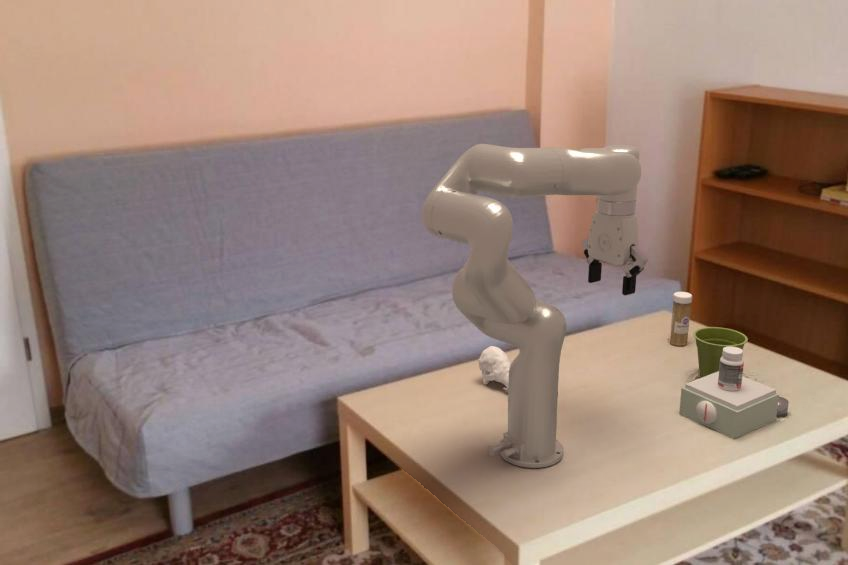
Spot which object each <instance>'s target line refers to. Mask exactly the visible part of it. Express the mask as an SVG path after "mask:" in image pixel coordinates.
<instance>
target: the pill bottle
mask: <svg viewBox="0 0 848 565" xmlns="http://www.w3.org/2000/svg"><path fill="white" fill-rule="evenodd" d="M722 355H723V356H722V357H721V358H720V366H719V376H718V386H719V387H720V388H721V389H724V390H728V391H737V390H739V389H740V388H741V384H742V376H743V374H744V367H745V366H744V365H745V361H744V358H743V357H744V349H743V350H742V349H740V348H737V347H731V346H728V347H724V348H723V352H722Z"/></svg>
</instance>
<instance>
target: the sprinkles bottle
mask: <svg viewBox="0 0 848 565" xmlns="http://www.w3.org/2000/svg"><path fill="white" fill-rule="evenodd" d="M672 300H673V301H672V302H673V303H672V304H673V305H672V312H671V325H670V339H669V343H670V344H671V345H673V346H677V347H684V346H686V345H688V343H689V342H688V340H689V339H688V336H689V332H690V331H689V330H690V316H691V304H692V302H693V295H692V294H691V293H690V292H687V291H675V292H674V293H673V295H672Z"/></svg>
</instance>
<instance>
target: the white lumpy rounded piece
mask: <svg viewBox="0 0 848 565" xmlns="http://www.w3.org/2000/svg"><path fill="white" fill-rule="evenodd" d="M477 362H478V367H479V370H480V371H481V375H482V380H483V381H482V382H483V385H485V386H486V385H488V384H489V383H490V382H493V381H495V382H496V383H501V384H502V385H505V387H503V390H505V391H506V393H508V388H509V368H510V365H511V363H512V362H511V361H510V359H509V357H508V356H507V354H506V352H505V351H503V350H502V348H500V347H498V346H494V345H490V346H488V347H487V348H485V349H483V351H482V352H481V354H480V357H479V358H478V361H477Z"/></svg>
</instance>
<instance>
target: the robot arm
mask: <svg viewBox="0 0 848 565" xmlns="http://www.w3.org/2000/svg"><path fill="white" fill-rule="evenodd" d="M641 177H642V166H641V163H640V151H639V150H638V148H637V147H636V146H633V145H628V144H609V145H606V146H604V147H598V148H597V147H583V148H579V149H577V150H576V149H571V148H562V147H553V146H551V147H508V146H501V145H495V144H487V143H477V144H475V145H473V146H471V147H470V148H469V149H467V150H465V152H464V153H462V154H461V155H460V157H459V158H458V159H457V160H456V161H455V162H454V163H453V164H452V165H451V167H450V168H449V169H448V170H447V172H446V173H445V174H444V175H443V177H442V178H441V179H440V180H439V182H437V184H436V185H435V186H434V188H432V189H431V191H430V193H429V194H428V196H427V198H426V200H425V201H424V204H423V206H422V212H421V219H422V223H423V226H424V228H425V229H426V231H427V232H428V233H430V234H432V235H433V236H434V237H438V238H441V239H444V240H449V241H453V242H456V243H460V244H462V245H463V244H464V245H468V246H470V252H469V255H468V257H467V260H465V263H464V266H463V267H461V268H460V269H459V271H458V272H457V273H456V274H455V276H454V278H453V281H452V285H451V295H452V299H453V304H454V305H455V307H456V309H457V310H459V312H460V313H461V314H462V315H463V316H464V317H465V318H466V319H467V320H468V321H469V322H470V323H472V324H473V326H475V327H476V328H477V329H478V330H479V331H480V332H481V333H482V334H484V335H485V336H487V337H489V338H491V339H494V340H497V341H499V342H502V343H506V344H509V345H510V346H513V347H515V348H518V350H519V352H518V354H517V355H516V357H515V358H514V359H513V360H512V362H510V363H511V365H510V368H509V388H508V392H507V396H508V397H507V400H508V401H507V431H506V432H504V433H503V434H502V436H503V437H502V438H503V439H500V441H499V442H496V443H494V444H492V445H488V447H487V451H488V453H489V455H490V456H496V455H498V454H500V456H501V458H503V460H505V461H506V462H508V463H510V464H512V465H514V466H517V467H520V468H521V467H522V468H527V469H528V468H530V469H540V468H546V467H547V468H548V467H550V466H554V465H556V464H557V463H559V462H560V461H561V460H562V459H563V457H564V447H563V444H562V443H561V442H560V441H559V440H558V439H557V422H558V421H557V420H558V398H559V395H558V394H559V372H560V363H561V362H560V360H561V354H562V348H563V345H564V340H565V336H566V333H567V320H566V317H565V315H564V313H563V312H562V311H561V310H560V309H559V308H558V307H556V306H554V305H553V304H550V303H548V302H546V301H542V300H539V299H536V296H535V292H534V290H533V289H532V286H531V284H529V282H528V281H527V280H526V279H525V277H523V276H522V274H520V271H518V270H517V269H516V267H515V266H513V264H512V263H511V262H510V260H509V258H508V257H509V251H510V250H509V249H510V244H511V240H512V235H513V231H514V222H513V218H512V214H511V212H510V210H509V208H508V207H507V206H506V205H505V204H504V203H502V202H501V201H499V200H498V199H495V198H491V197H488V196H485V195H479V194H478V193H479V192H481V193H486V194H490V195H495V196H501V197H507V198H525V197H526V198H527V197H530V198H531V197H538V196H539V197H541V196H553V195H554V196H555V195H556V196H557V195H558V196H597V197H596V198H595V203H596V204H597V209H596V210H595V211H594V212H593V215H592V219H591V222H590V228H589V236H588V237H587V238H584V239H582V240H581V244H582V248H583V254H584V256H585V257H586V263H587V264H588V277H587V283H590V284H593V283H596V282H600V281H601V280H602V267H603V264H604V263H605V264H607V265H611V266H614V267H621V268H622V270H623V272H624V274H625V275H624V276H623V277H622V289H621V294H622V295H623V296H626V297H627V296H629V295H633V294H635V293H636V286H637V276H639V275H640V274H641V272H643V271H644V269H645V266H646V265H647V263H648V260H649V259H648V257H647V256H646V255H645V254H644V253H643V252H642V251H641V250H640V249H639V224H638V218H637V217H638V216H637V215H636V209H637V208H636V207H637V205H636V204H637V194H638V185H639V183H640V181H641Z"/></svg>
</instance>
